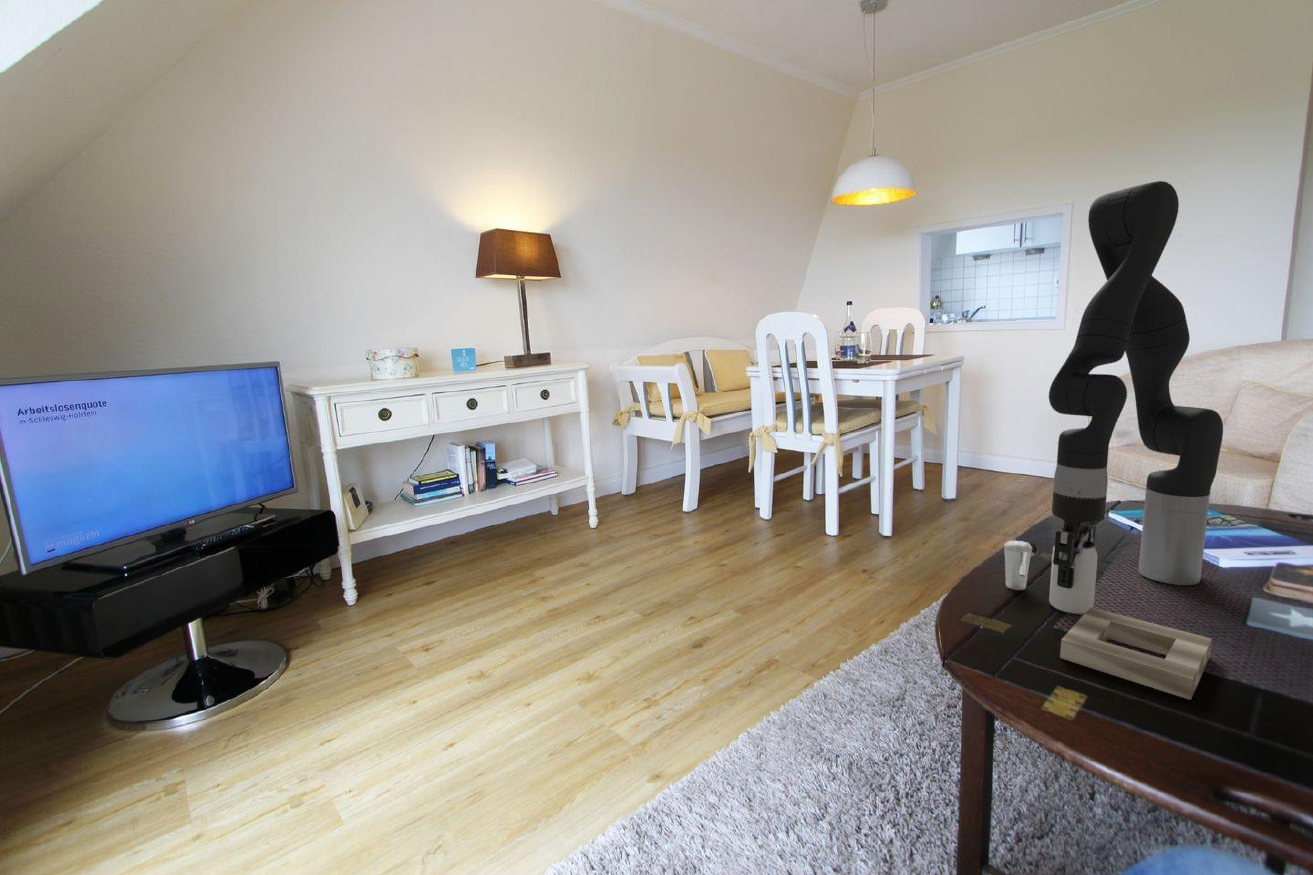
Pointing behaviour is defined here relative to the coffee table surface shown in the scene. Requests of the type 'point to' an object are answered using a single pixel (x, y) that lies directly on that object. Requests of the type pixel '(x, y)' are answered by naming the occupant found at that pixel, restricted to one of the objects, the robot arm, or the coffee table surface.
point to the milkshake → (1017, 563)
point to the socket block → (1163, 674)
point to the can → (1076, 583)
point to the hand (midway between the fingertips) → (1072, 579)
